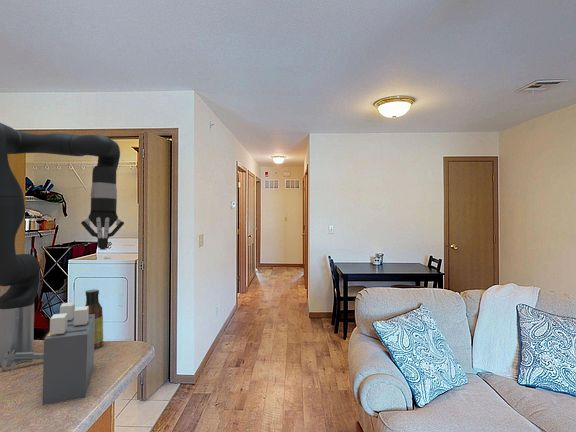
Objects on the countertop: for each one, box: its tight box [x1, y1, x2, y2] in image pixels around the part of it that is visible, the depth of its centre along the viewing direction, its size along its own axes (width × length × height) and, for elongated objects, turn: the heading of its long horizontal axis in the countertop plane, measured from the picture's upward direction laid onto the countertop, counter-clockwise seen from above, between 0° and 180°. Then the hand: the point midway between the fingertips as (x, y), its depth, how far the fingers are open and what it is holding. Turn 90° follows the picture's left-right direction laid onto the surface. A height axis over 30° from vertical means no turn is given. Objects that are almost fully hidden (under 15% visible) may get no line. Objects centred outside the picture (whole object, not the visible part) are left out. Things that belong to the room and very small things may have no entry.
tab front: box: [49, 313, 68, 335], centre depth 84 cm, size 3×4×4 cm
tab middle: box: [74, 305, 89, 325], centre depth 91 cm, size 3×4×4 cm
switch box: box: [41, 314, 95, 406], centre depth 90 cm, size 9×19×16 cm, turn 25°
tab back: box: [59, 301, 76, 320], centre depth 95 cm, size 3×4×4 cm
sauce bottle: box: [84, 288, 104, 350], centre depth 115 cm, size 7×6×20 cm
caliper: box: [1, 349, 44, 372], centre depth 102 cm, size 20×1×6 cm, turn 128°
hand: (102, 249), depth 109 cm, fingers closed
